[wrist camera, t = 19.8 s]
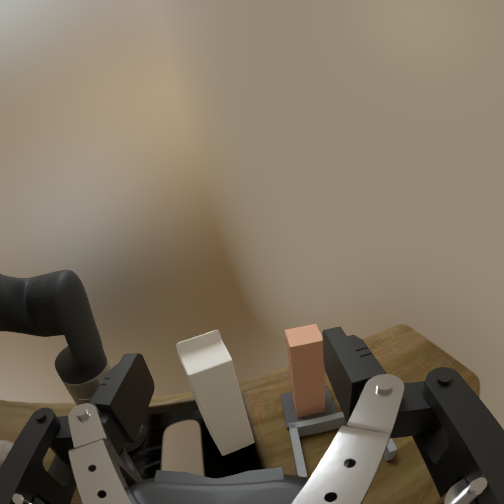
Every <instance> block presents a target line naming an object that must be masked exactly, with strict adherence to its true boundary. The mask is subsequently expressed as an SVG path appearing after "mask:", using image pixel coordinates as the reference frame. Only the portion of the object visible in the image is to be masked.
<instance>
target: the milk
mask: <svg viewBox="0 0 504 504" xmlns="http://www.w3.org/2000/svg"><path fill="white" fill-rule="evenodd" d="M176 347H177V350H178V355H179V358H180V361H181V364H182V367H183V369H184V372H185V375H186V377H187V380H188V383H189V385H190V388H191V390H192V393H193V395H194V398H195V400H196V403H197V405H198V407H199V410H200V412H201V414H202V417H203V419H204V421H205V424H206V426H207V428H208V430H209V432H210V434H211V436H212V438H213V440H214V442H215V444H216V445H217V447H218V449H219V451H220V452H221V454H222V456H224V455H226V454H229V453H231V452H234V451H236V450H239V449H241V448H244V447H246V446H248V445H250V444H253V443H255V441H254V438H253V434H252V431H251V427H250V424H249V421H248V417H247V413H246V410H245V406H244V403H243V399H242V395H241V392H240V388H239V384H238V380H237V377H236V373H235V369H234V365H233V361H232V358H231V356H230V354H229V353H228V351H227V349H226V347H225V345H224V343H223V341H222V340H221V336H220V332H219V331H218V330H215V331H212V332H209V333H206V334H203V335H200V336H197V337H194V338H191V339H188V340H185V341H182V342H179V343H177V344H176Z"/></svg>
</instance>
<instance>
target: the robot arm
mask: <svg viewBox="0 0 504 504" xmlns="http://www.w3.org/2000/svg"><path fill="white" fill-rule="evenodd" d="M0 331H9V332H16V333H23V334H29V335H35V336H42V337H48V336H58V335H65V338H66V341H67V344H68V347H66V348H65V349H63V350H62V351H61V352H60V353H59V355H58V356H57V358H56V360H55V367H56V370H57V372H58V374H59V376H60V378H61V379H62V381H63V383H64V385H65V386H66V388H67V390H68V391H69V393H70V395H71V396H72V398H73V399H74V401H75V403H76V404H77V406H76V407H75V408H73V409H72V410H71V412H70V413H69V416H62V417H57V416H56V415H55V413H54V412H53V410H52V409H50V408H41V409H39V410H37V411H36V412H34V413H33V415H32V416H31V417H30V419H29V421H28V422H27V424H26V425H25V427H24V428H23V430H22V431H21V433H20V435H19V436H18V438H17V440H16V441H15V443H14V445H13V446H12V448H11V450H10V451H9V453H8V455H7V457H6V458H5V460H4V462H3V464H2V465H1V467H0V504H70V503H71V500H72V497H73V494H74V491H75V488H76V485H77V487H78V490H79V494H80V497H81V500H82V502H83V504H362V502H363V500H364V498H365V496H366V494H367V492H368V490H369V488H370V486H371V484H372V482H373V479H374V477H375V475H376V473H377V470H378V468H379V465H380V463H381V461H382V458H383V456H384V453H385V450H386V448H387V445H388V442H389V440H390V438H398V437H406V436H412V437H413V439H414V441H415V443H416V445H417V447H418V449H419V451H420V453H421V455H422V457H423V459H424V461H425V463H426V466H427V468H428V470H429V472H430V474H431V477H432V479H433V481H434V483H435V486H436V488H437V490H438V492H439V495H440V497H441V499H440V500H439V501H438V502H437V503H436V504H504V430H503V428H502V427H501V426H500V424H499V423H498V422H497V420H496V419H495V418H494V417H493V415H492V414H491V412H490V411H489V410H488V409H487V407H486V406H485V405H484V404H483V402H482V401H481V400H480V399H479V397H478V396H477V395H476V394H475V392H474V391H473V390H472V389H471V388H470V386H469V385H468V384H467V383H466V382H465V380H464V379H463V378H462V377H461V376H460V375H459V373H458V372H456V371H455V370H453V369H451V368H446V367H441V368H436V369H434V370H432V371H430V372H429V373H428V375H427V377H426V380H425V381H421V382H414V383H403V382H402V380H401V379H400V378H398V377H396V376H394V375H390V374H386V372H385V371H384V369H383V368H382V366H381V365H380V364H379V362H378V361H377V359H376V358H375V357H374V355H373V354H372V352H371V351H370V350H369V348H368V347H367V345H366V344H365V343H364V341H363V340H362V339H360V338H358V337H356V336H355V335H351V336H346V335H345V333H344V331H343V330H342V328H341V327H336V328H331V329H327V330H323V333H322V337H323V361H324V367H325V371H326V374H327V376H328V378H329V381H330V383H331V385H332V388H333V390H334V393H335V395H336V397H337V400H338V402H339V405H340V407H341V410H342V412H343V414H344V417H345V419H346V422H347V424H346V425H345V424H343V425H342V426H341V427H340V429H339V431H338V432H337V434H336V436H335V438H334V440H333V441H332V443H331V445H330V446H329V448H328V450H327V452H326V453H325V455H324V457H323V458H322V460H321V461H320V463H319V465H318V466H317V468H316V469H315V471H314V472H313V474H312V475H311V477H310V478H306V477H301V476H296V475H286V474H283V468H282V467H278V468H270V469H262V470H252V471H247V472H243V473H239V474H235V475H231V476H227V477H223V478H218V479H213V478H208V477H203V476H199V475H194V474H190V473H186V472H173V471H161V470H157V472H156V476H155V478H151V479H146V480H143V481H142V480H141V478H140V476H139V475H138V473H137V471H136V469H135V467H134V465H133V463H132V461H131V459H130V457H129V455H128V453H127V452H130V451H133V450H135V449H136V448H138V447H139V446H140V445H141V444H142V443H143V442H144V439H145V436H146V431H145V428H144V426H143V425H142V422H143V419H144V417H145V414H146V411H147V409H148V406H149V403H150V401H151V398H152V395H153V392H154V382H153V379H152V376H151V374H150V372H149V370H148V367H147V365H146V362H145V360H144V358H143V356H142V355H141V354H125V355H124V356H123V357H122V359H121V361H120V362H119V364H117V365H116V366H114V367H113V368H112V369H111V367H110V364H109V362H108V360H107V358H106V356H105V353H104V350H103V346H102V342H101V338H100V335H99V332H98V329H97V327H96V324H95V321H94V318H93V314H92V311H91V308H90V304H89V301H88V298H87V294H86V292H85V289H84V286H83V284H82V282H81V280H80V279H79V277H78V276H77V275H76V274H75V273H74V272H73V271H71V270H61V271H57V272H52V273H48V274H44V275H40V276H36V277H32V278H15V277H9V276H4V275H2V274H0ZM49 447H50V448H51V449H52V450H53V452H54V453H55V454H56V455H55V457H54V459H53V462H52V464H51V466H50V468H49V470H48V472H47V471H46V470H45V469H44V467H43V458H44V456H45V454H46V452H47V450H48V448H49Z"/></svg>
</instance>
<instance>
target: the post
mask: <svg viewBox="0 0 504 504" xmlns="http://www.w3.org/2000/svg"><path fill="white" fill-rule="evenodd" d="M285 335H286V344H287V352H288V360H289V369H290V378H291V387H292V396H293V402H294V406H295V410H296V414H297V418H298V417H303V416H308V415H312V414H317V413H321V412H325V367H324V361H323V337H322V335H321V333H320V332H319V329H318V328H317V326H316V324H313V325H308V326H303V327H298V328H293V329H288V330H285Z"/></svg>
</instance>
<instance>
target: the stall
mask: <svg viewBox="0 0 504 504" xmlns="http://www.w3.org/2000/svg"><path fill="white" fill-rule="evenodd" d="M343 424H345V425H346V424H347V422H346V419H345V417H344V414H343V412H339V413H335V414H331V415H327V416H323V417H319V418H314V419H310V420H305V421H300V422H294V423H289V432H290V438H291V443H292V449H293V454H294V460H295V465H296V471H297V476H301V477H306V478H307V472H306V468H305V463H304V458H303V453H302V449H301V444H300V439H299V437H302V436H307V435H312V434H317V433H321V432H325V431H330V430H334V429H337V428H340V427H341V426H342V425H343ZM396 451H397V448H396V446H395V444H394V442H393V440H392V438H390V440H389V442H388V445H387V448H386V450H385V453H384V458H385V460H386V461H389V460H391V459H393V458H394V456H395V453H396Z"/></svg>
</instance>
